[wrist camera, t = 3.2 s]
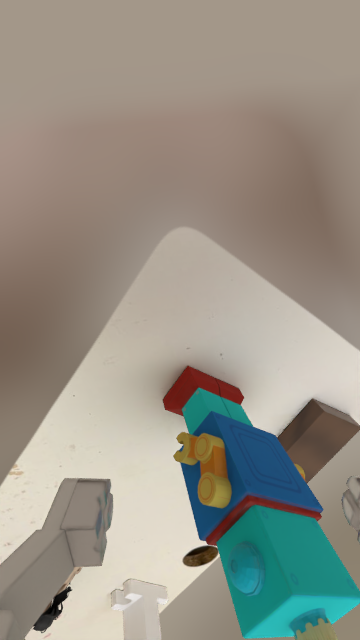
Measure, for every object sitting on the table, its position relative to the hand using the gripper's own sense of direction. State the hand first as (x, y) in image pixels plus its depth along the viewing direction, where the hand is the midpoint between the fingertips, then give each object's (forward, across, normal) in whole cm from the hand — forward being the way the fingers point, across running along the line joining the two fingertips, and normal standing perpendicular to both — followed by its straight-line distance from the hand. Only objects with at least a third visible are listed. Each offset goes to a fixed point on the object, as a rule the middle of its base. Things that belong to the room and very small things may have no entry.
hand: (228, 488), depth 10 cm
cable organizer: (+23, +9, +58) cm, 63 cm away
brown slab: (+26, -14, +29) cm, 42 cm away
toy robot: (+22, -1, +12) cm, 26 cm away
